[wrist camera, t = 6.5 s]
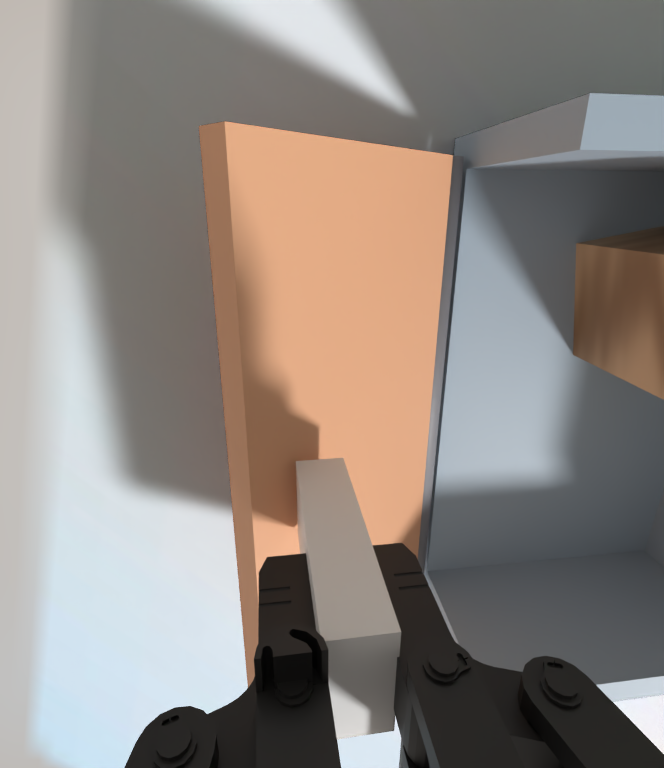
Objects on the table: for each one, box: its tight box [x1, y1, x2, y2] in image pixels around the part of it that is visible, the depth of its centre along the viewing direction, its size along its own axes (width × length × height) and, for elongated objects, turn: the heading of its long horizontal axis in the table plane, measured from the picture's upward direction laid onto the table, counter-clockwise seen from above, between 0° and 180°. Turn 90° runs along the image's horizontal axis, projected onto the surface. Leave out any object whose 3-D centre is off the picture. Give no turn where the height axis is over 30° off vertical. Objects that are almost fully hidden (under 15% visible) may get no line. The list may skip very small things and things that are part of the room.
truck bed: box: [424, 93, 664, 702], centre depth 18 cm, size 22×14×12 cm, turn 0°
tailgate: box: [199, 121, 464, 687], centre depth 18 cm, size 20×1×11 cm
